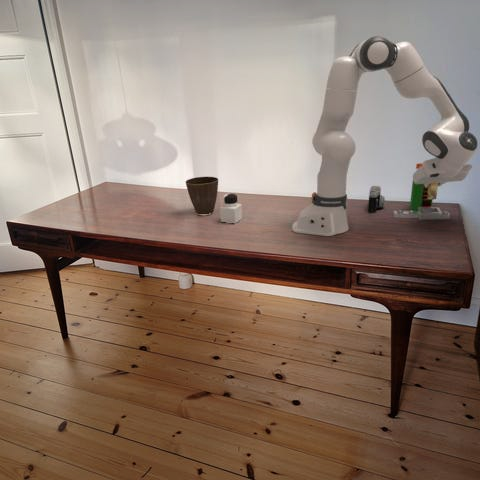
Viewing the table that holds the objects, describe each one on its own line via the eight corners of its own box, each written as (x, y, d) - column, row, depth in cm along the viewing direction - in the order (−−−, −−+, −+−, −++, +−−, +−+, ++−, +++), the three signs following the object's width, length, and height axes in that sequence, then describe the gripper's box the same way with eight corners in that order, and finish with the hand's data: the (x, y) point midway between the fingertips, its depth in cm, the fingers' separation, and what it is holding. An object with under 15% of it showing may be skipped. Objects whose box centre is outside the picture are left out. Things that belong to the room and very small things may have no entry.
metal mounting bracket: (394, 219, 177) (394, 211, 176) (393, 213, 184) (393, 206, 183) (450, 221, 171) (451, 213, 170) (447, 215, 178) (448, 207, 177)
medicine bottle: (242, 219, 188) (241, 193, 183) (235, 224, 182) (233, 197, 177) (228, 218, 190) (226, 192, 186) (220, 222, 185) (218, 196, 180)
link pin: (427, 199, 173) (429, 177, 170) (426, 197, 176) (428, 175, 173) (436, 199, 172) (439, 177, 169) (435, 197, 175) (438, 175, 172)
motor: (427, 213, 182) (433, 167, 175) (406, 210, 187) (410, 165, 180) (434, 207, 189) (439, 162, 182) (413, 204, 195) (417, 161, 187)
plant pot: (201, 220, 189) (198, 185, 183) (182, 214, 199) (179, 181, 194) (227, 212, 198) (224, 179, 192) (207, 207, 208) (205, 175, 202)
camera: (383, 214, 184) (384, 191, 181) (367, 213, 187) (368, 191, 183) (384, 204, 197) (385, 183, 194) (369, 203, 200) (370, 183, 196)
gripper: (471, 157, 162) (454, 176, 174) (419, 161, 161) (406, 180, 173) (477, 171, 159) (459, 190, 172) (424, 175, 158) (410, 194, 171)
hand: (432, 185), depth 173 cm, fingers closed on link pin, 3 cm apart
